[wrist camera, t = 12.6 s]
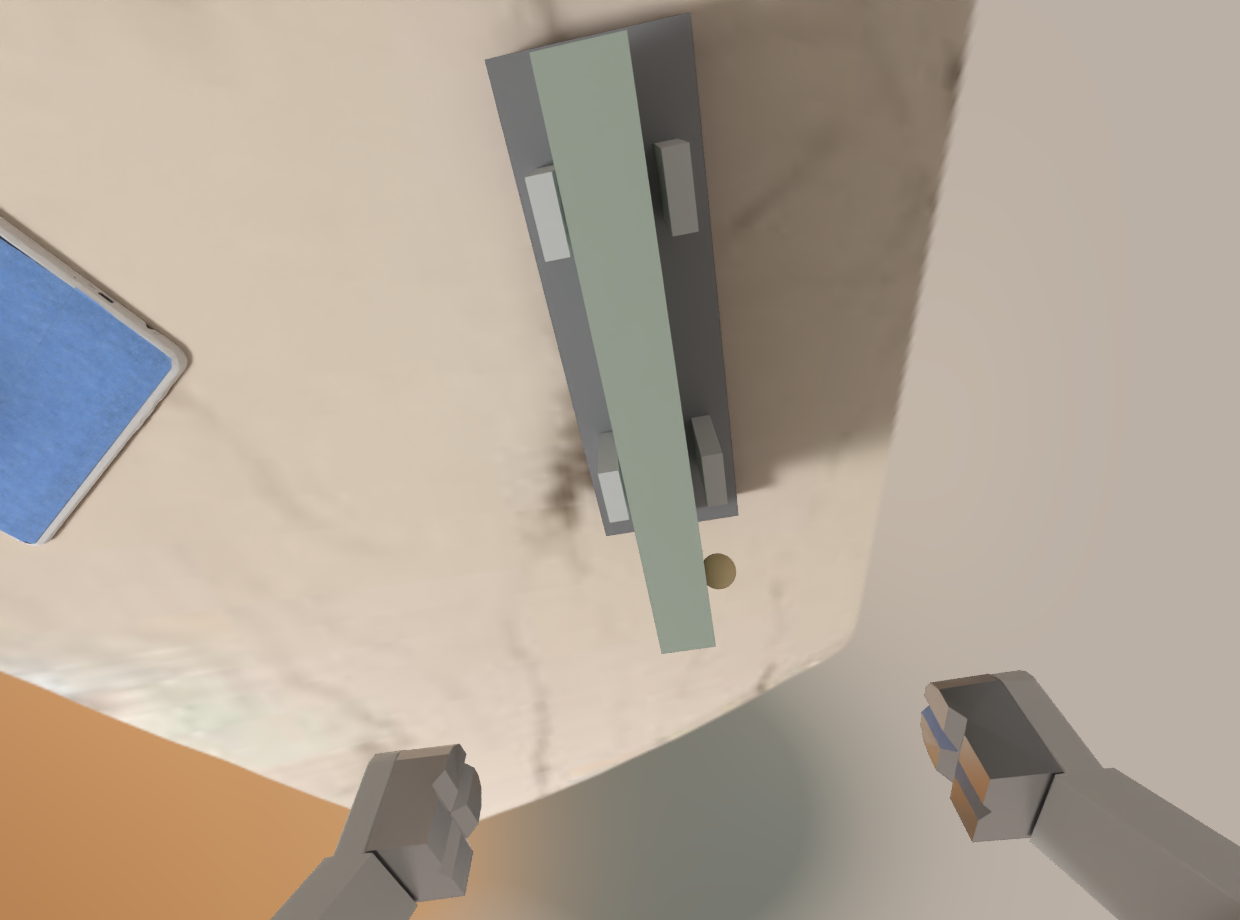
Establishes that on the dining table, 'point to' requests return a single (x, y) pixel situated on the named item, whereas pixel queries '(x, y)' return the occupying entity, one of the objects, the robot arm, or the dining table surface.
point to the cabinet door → (629, 320)
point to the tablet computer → (66, 385)
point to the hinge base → (682, 249)
